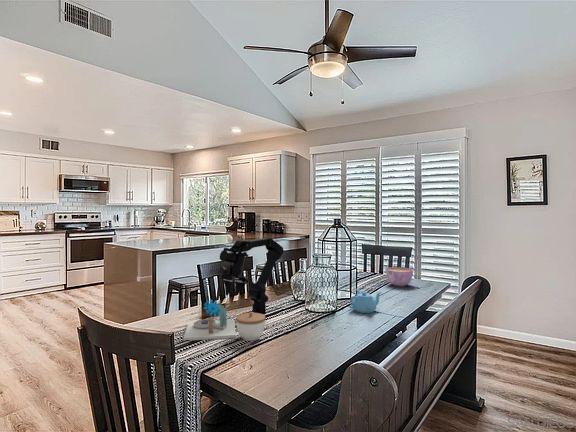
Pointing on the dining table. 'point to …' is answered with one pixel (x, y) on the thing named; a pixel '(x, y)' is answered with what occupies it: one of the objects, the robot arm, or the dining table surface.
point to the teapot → (364, 302)
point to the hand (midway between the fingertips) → (231, 295)
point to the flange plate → (223, 321)
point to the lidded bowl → (250, 325)
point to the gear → (212, 308)
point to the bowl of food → (399, 275)
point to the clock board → (206, 335)
